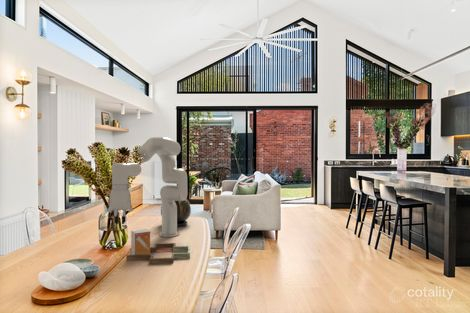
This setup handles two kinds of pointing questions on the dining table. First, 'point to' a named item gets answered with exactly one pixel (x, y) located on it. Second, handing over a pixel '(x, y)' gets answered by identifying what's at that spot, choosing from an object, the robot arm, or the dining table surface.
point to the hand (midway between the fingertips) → (120, 223)
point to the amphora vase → (182, 212)
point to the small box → (140, 242)
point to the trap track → (162, 248)
